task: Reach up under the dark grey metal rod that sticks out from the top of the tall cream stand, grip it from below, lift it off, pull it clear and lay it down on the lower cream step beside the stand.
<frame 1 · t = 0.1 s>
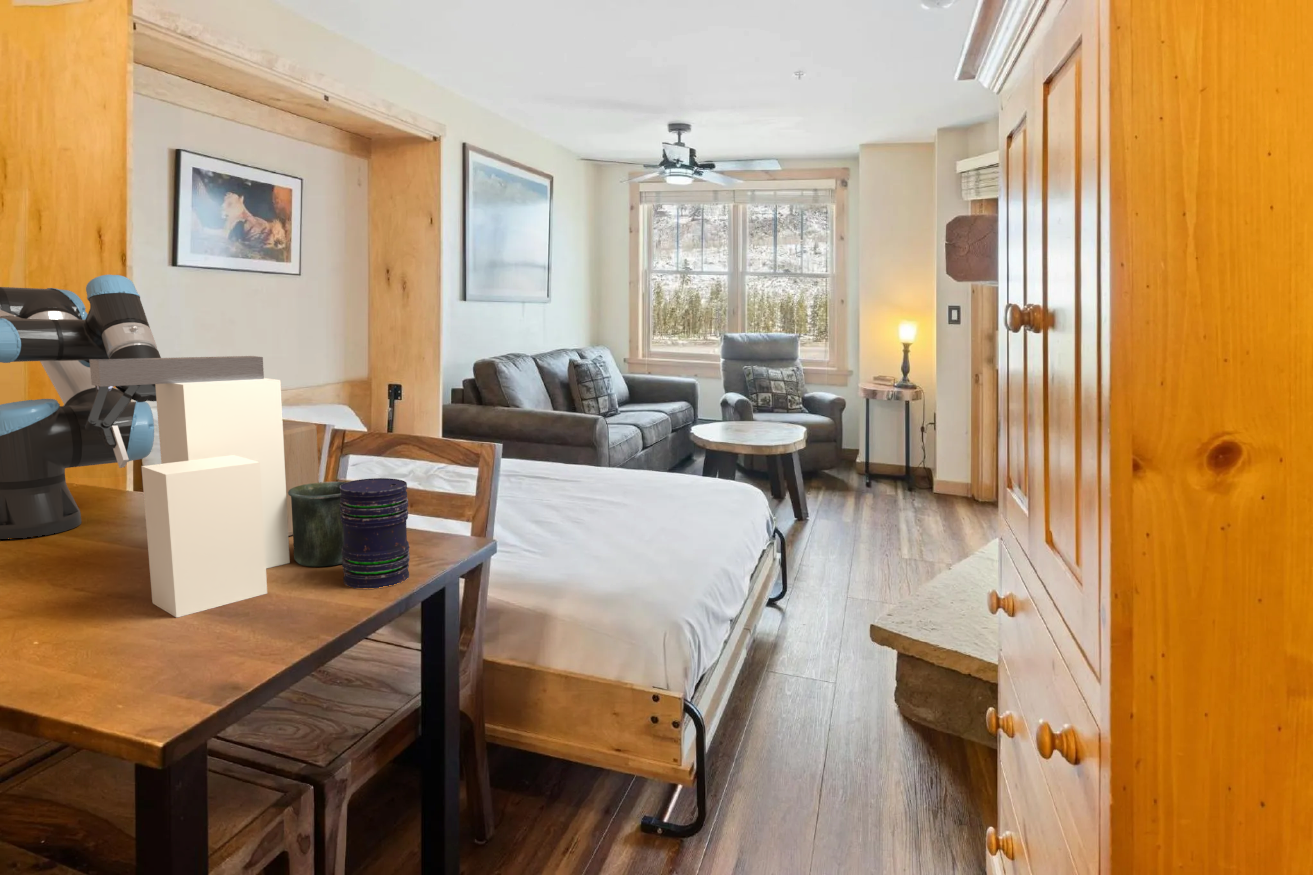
hand: (170, 458, 130), 15 cm above the table, tool tilted 35°, fingers open, 13 cm apart
block: (282, 530, 143), on the table
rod: (183, 381, 113), point 30 cm above the table, touching stand
stand: (230, 566, 122), on the table
dark purple barrel: (376, 579, 118), on the table
step: (211, 598, 108), on the table
mug: (336, 556, 129), on the table
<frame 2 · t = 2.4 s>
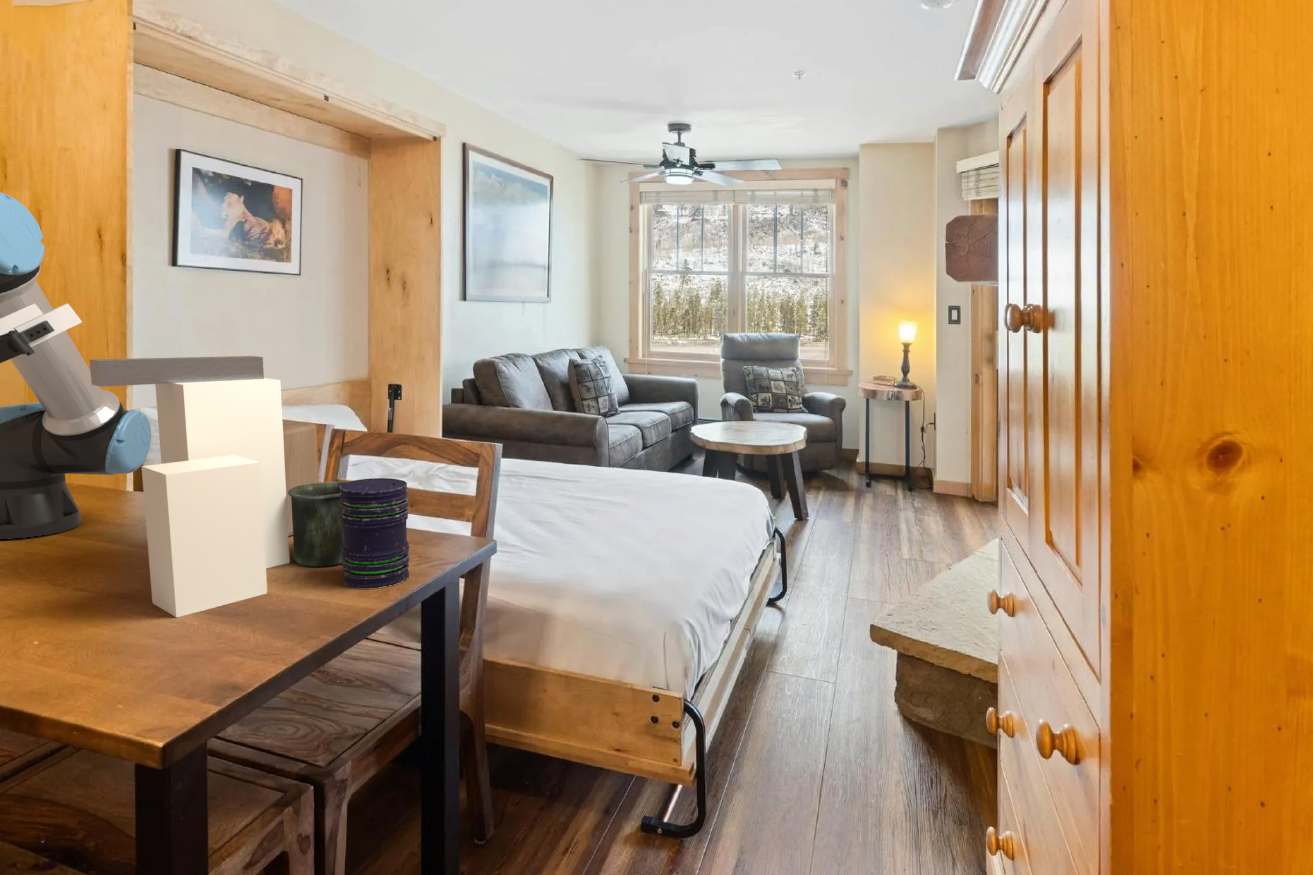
hand: (57, 312, 102), 40 cm above the table, tool pointing upward, fingers open, 13 cm apart
nothing on the table moved.
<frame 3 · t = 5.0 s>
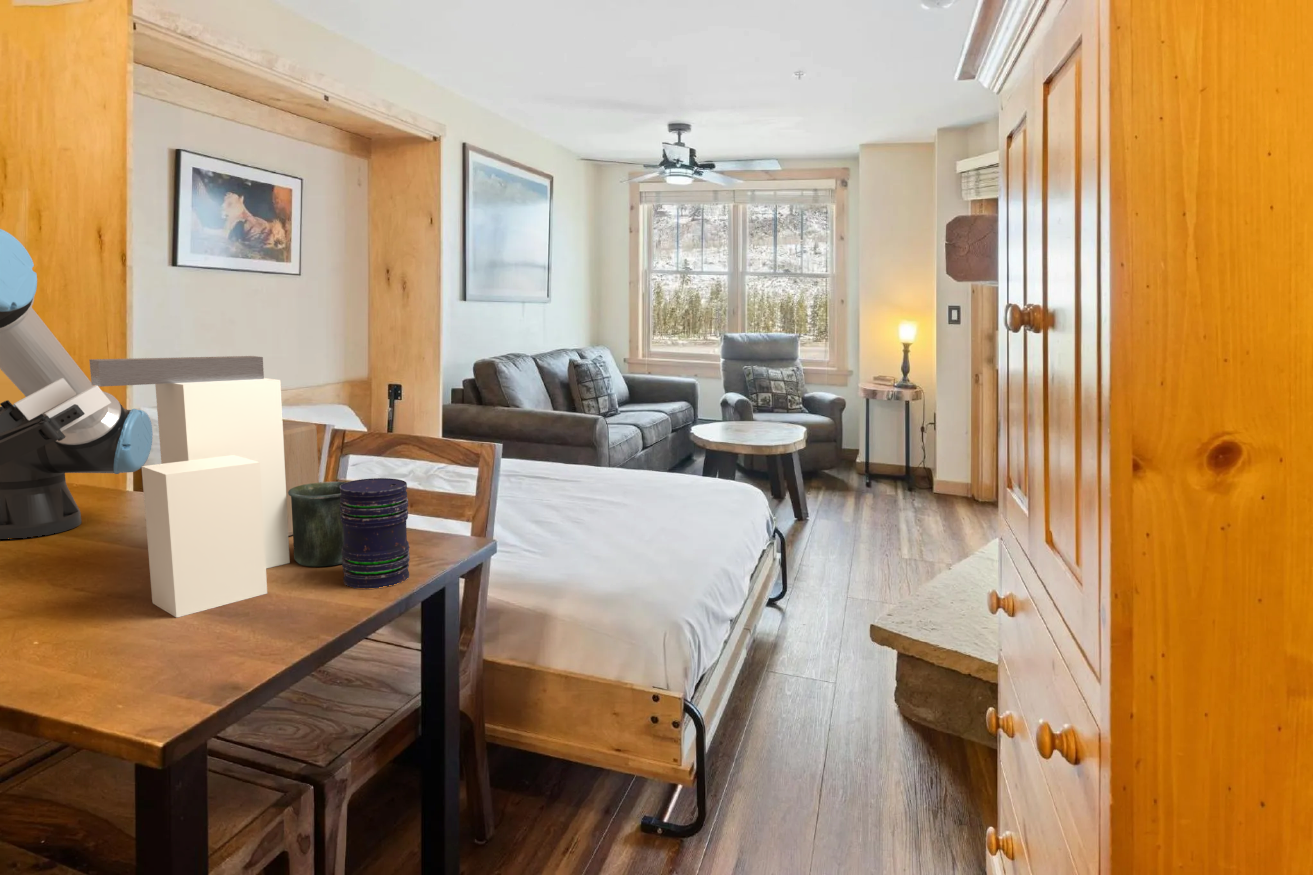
hand: (86, 389, 103), 30 cm above the table, tool pointing upward, fingers open, 13 cm apart
nothing on the table moved.
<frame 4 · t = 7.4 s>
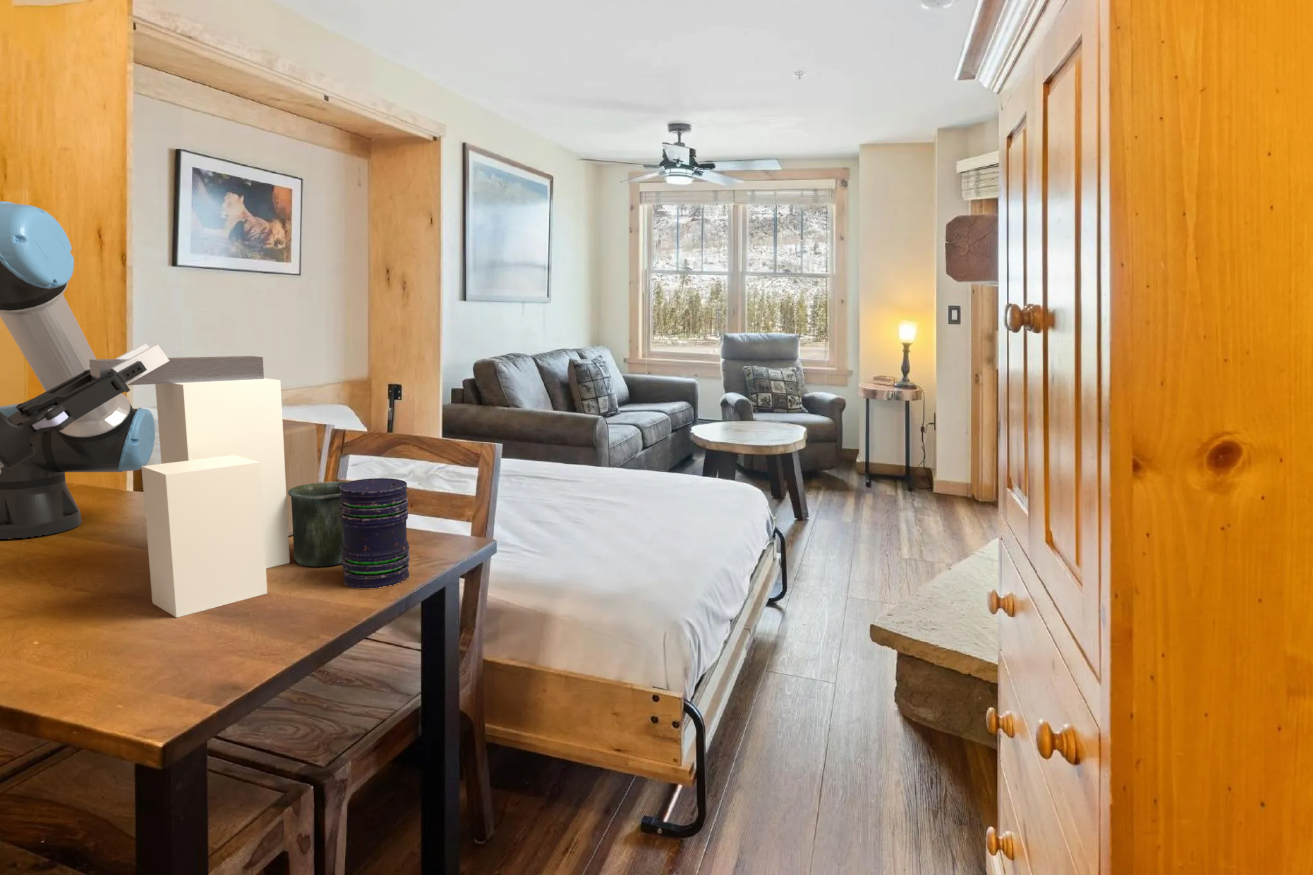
hand: (156, 352, 110), 34 cm above the table, tool pointing upward, fingers closed on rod, 3 cm apart
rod: (183, 381, 113), point 30 cm above the table, touching gripper, stand
everything else where it was.
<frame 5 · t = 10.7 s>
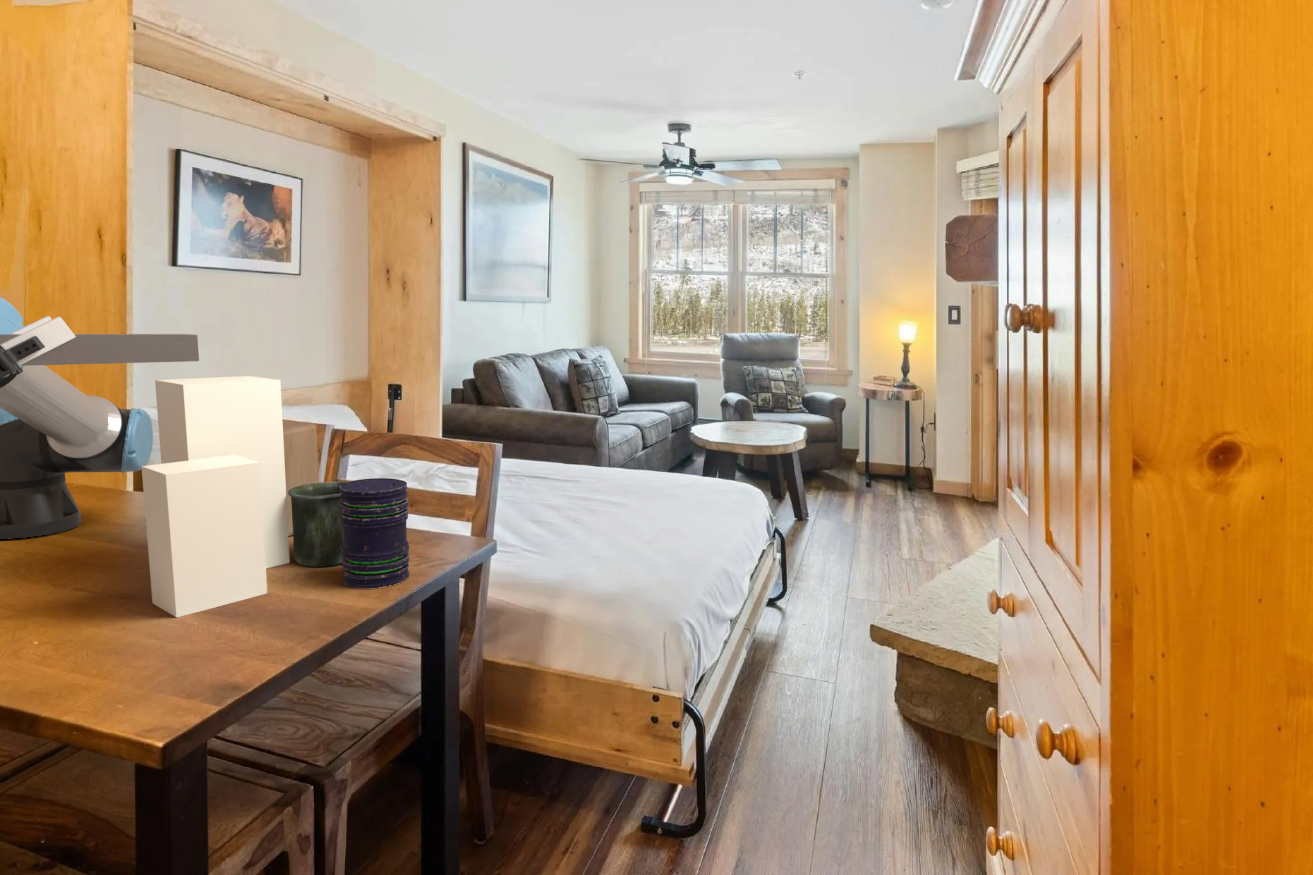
hand: (61, 326, 90), 38 cm above the table, tool pointing upward, fingers closed on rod, 3 cm apart
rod: (96, 362, 94), point 34 cm above the table, touching gripper
everything else where it was.
when the fingers open (25 cm above the table, at t = 14.0 s): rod drops 1 cm, resting on step.
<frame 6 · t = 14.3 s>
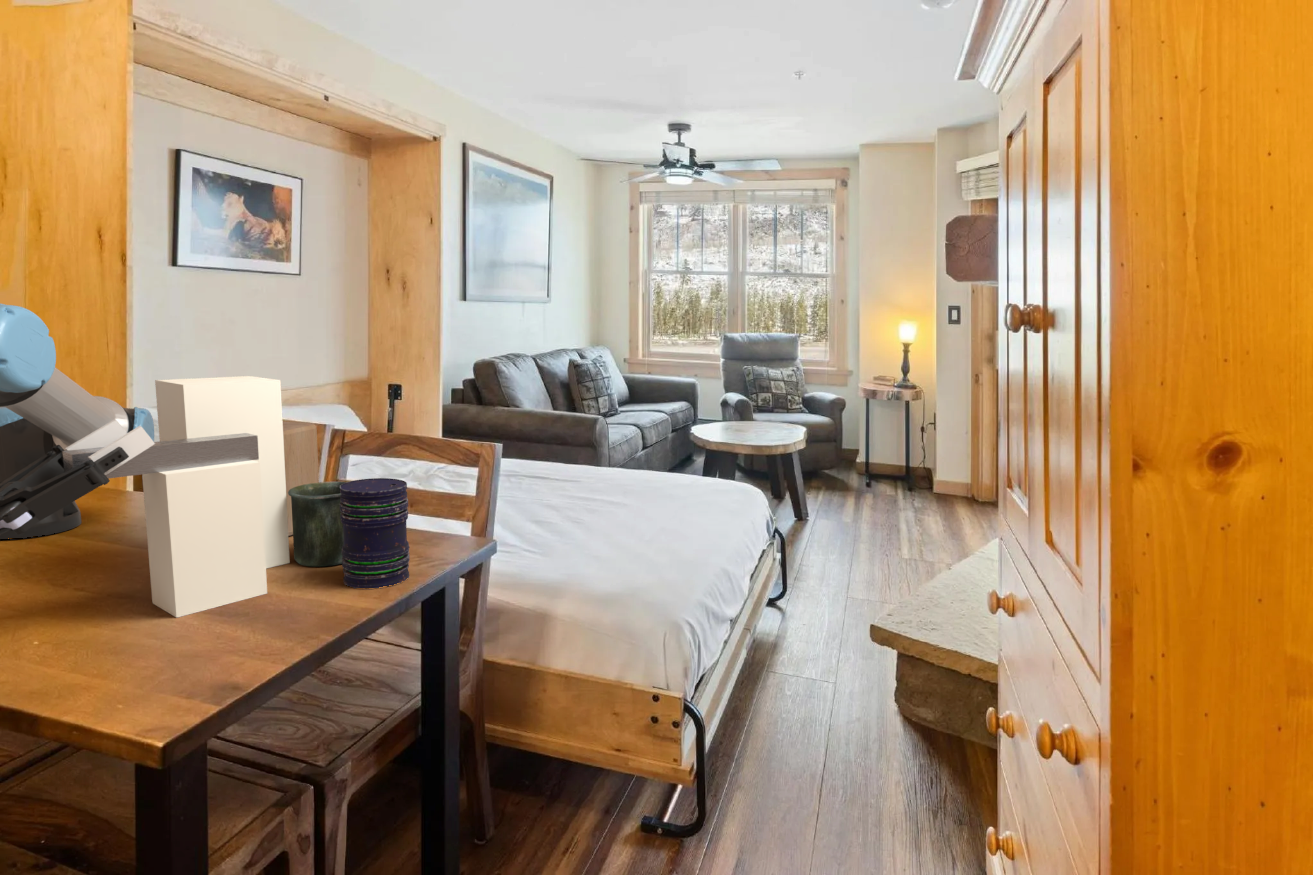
hand: (134, 431, 98), 25 cm above the table, tool pointing upward, fingers open, 8 cm apart
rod: (169, 468, 102), point 19 cm above the table, touching step
everything else where it was.
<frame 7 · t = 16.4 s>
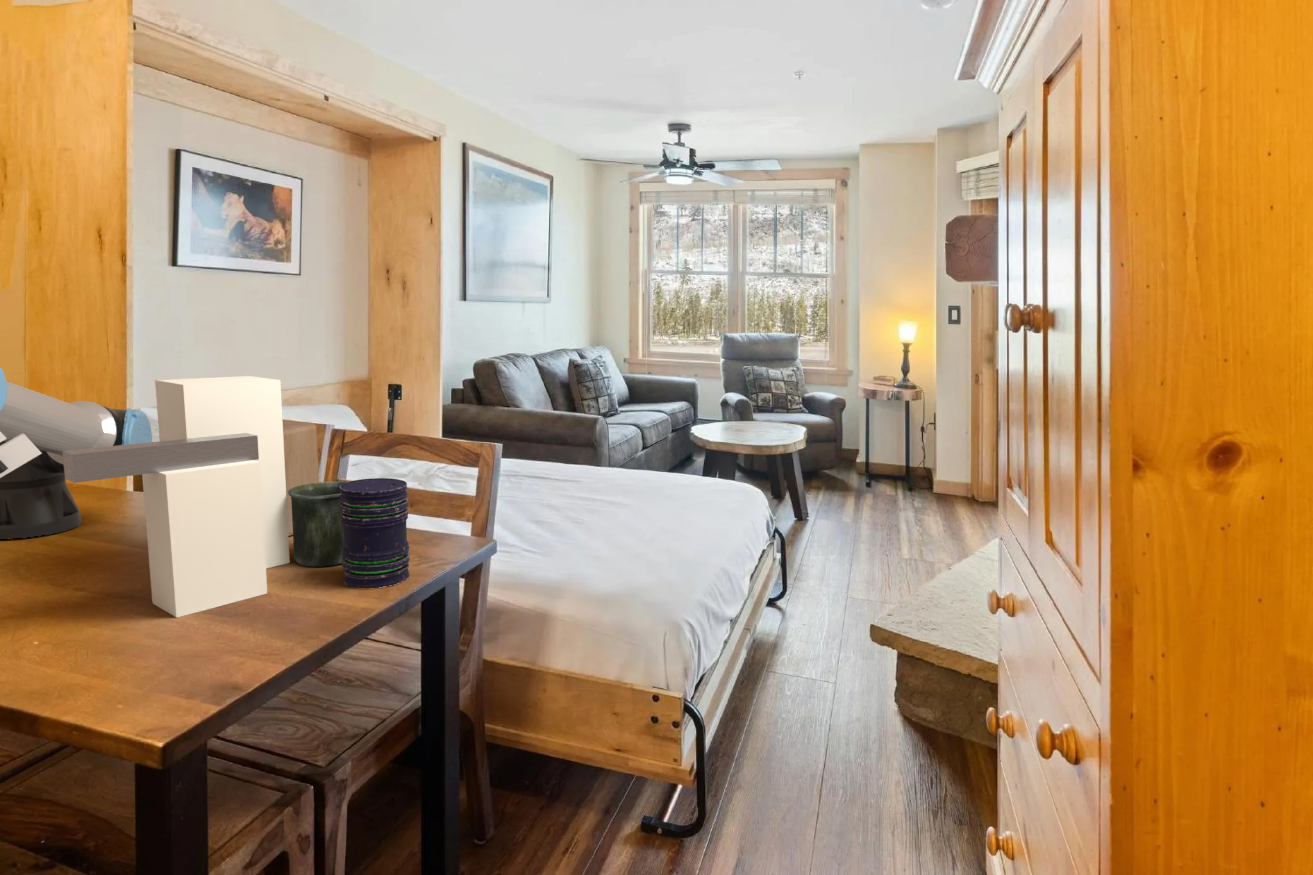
hand: (14, 435, 89), 26 cm above the table, tool pointing upward, fingers open, 13 cm apart
nothing on the table moved.
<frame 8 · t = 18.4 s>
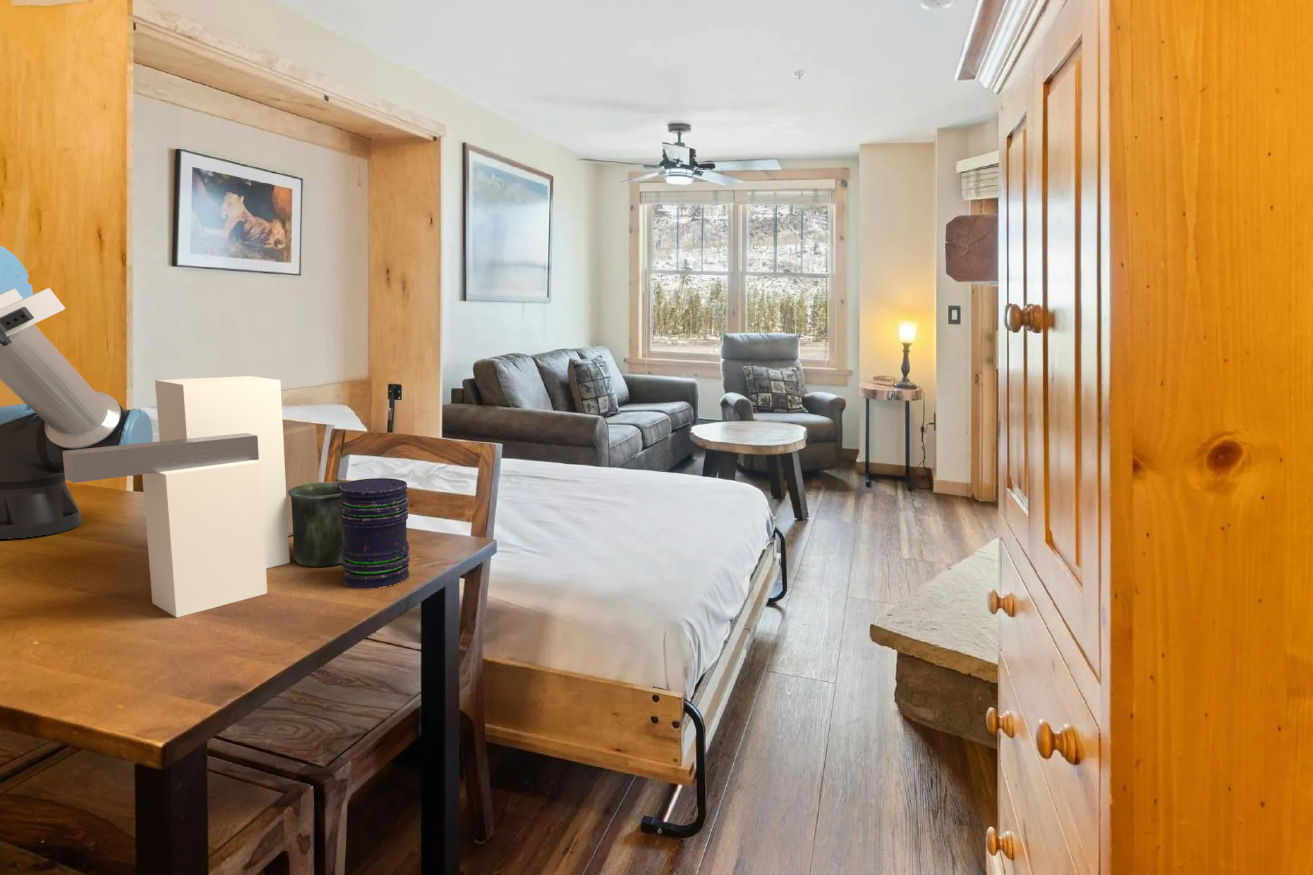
hand: (38, 298, 93), 42 cm above the table, tool pointing upward, fingers open, 13 cm apart
nothing on the table moved.
at the end: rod inside the target area (1.1 cm from its centre), point 19.5 cm above the table; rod touching step; the gripper is holding nothing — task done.
